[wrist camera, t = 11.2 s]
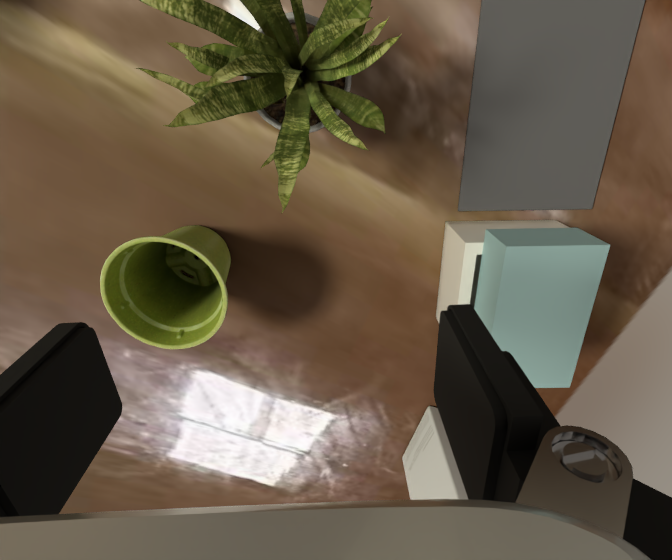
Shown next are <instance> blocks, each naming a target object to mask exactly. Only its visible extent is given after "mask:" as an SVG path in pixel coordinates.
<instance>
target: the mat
mask: <svg viewBox="0 0 672 560" xmlns="http://www.w3.org/2000/svg"><path fill="white" fill-rule="evenodd" d="M644 3H645V0H482V2H481V11H480V19H479V28H478V37H477V46H476V55H475V63H474V72H473V81H472V90H471V99H470V107H469V116H468V125H467V134H466V143H465V151H464V160H463V169H462V178H461V187H460V195H459V204H458V211H497V210H560V209H592V206H593V203H594V199H595V195H596V191H597V187H598V183H599V179H600V175H601V171H602V167H603V163H604V159H605V155H606V152H607V148H608V144H609V140H610V136H611V132H612V128H613V124H614V120H615V116H616V112H617V108H618V104H619V101H620V97H621V93H622V89H623V85H624V81H625V77H626V73H627V69H628V65H629V61H630V57H631V53H632V50H633V46H634V42H635V38H636V34H637V30H638V26H639V22H640V18H641V14H642V10H643V6H644Z"/></svg>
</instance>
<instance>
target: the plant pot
mask: <svg viewBox="0 0 672 560" xmlns="http://www.w3.org/2000/svg"><path fill="white" fill-rule="evenodd" d="M172 245H176V246H175V247H174V249H173V247H172ZM195 255H197V256H198V257H199V258H200V259H199V260H196V259H195V257H194V256H195ZM230 264H231V257H230V253H229V250H228V247H227V244H226V243H225V241H224V240H223V239H222V238H221V236H219V235H218V234H217V233H216V232H214V231H213V230H211V229H209V228H206V227H203V226H198V225H194V226H185V227H181V228H179V229H177V230H174V231H172V232H170V233H168V234H166V235H163V236H148V237H141V238H137V239H133V240H131V241H128V242H126V243H124V244H123V245H121V246H120V247H118V248H117V249H116V250H114V251H113V252H112V254H111V255H110V256H109V257H108V259H107V260H106V262H105V264H104V266H103V269H102V272H101V277H100V288H101V295H102V299H103V302H104V304H105V307H106V309H107V311H108V312H109V314H110V315H111V317H112V318H113V319H114V320H115V321H116V323H117V324H118V325H119V326H120V327H121V328H122V329H123V330H124V331H126V332H127V333H128V334H130V335H131V336H133V337H134V338H136V339H138V340H140V341H142V342H144V343H146V344H149V345H153V346H156V347H160V348H165V349H184V348H189V347H193V346H196V345H199V344H201V343H203V342H205V341H207V340H208V339H210V338H211V337H212V336H213V335H214V334H215V333H216V332H217V331H218V329H219V328H220V327H221V325H222V323H223V321H224V318H225V316H226V312H227V307H228V294H227V288H226V285H225V284H226V280H227V276H228V273H229V268H230ZM181 270H183V271H185V272H186V273H188V274H189V275H191V276H193V277H194V278H193V279H191V278H189V277H187V276H185V275H183V274H182V273H181Z"/></svg>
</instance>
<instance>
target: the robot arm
mask: <svg viewBox="0 0 672 560" xmlns="http://www.w3.org/2000/svg"><path fill="white" fill-rule="evenodd" d="M434 397H435V402H436V405H437V408H438V411H439V414H440V417H441V420H442V423H443V426H444V429H445V432H446V435H447V437H448V440H449V443H450V446H451V449H452V452H453V455H454V458H455V461H456V464H457V467H458V470H459V473H460V476H461V479H462V482H463V485H464V488H465V491H466V494H467V497H468V499H420V500H375V501H347V502H322V503H296V504H271V505H246V506H223V507H201V508H178V509H157V510H135V511H113V512H93V513H74V514H59V513H60V511H61V509H62V508H63V506H64V505H65V503H66V501H67V500H68V498H69V497H70V495H71V494H72V492H73V490H74V489H75V487H76V486H77V484H78V482H79V481H80V479H81V478H82V476H83V474H84V473H85V471H86V470H87V468H88V467H89V465H90V463H91V462H92V460H93V459H94V457H95V455H96V454H97V452H98V451H99V449H100V448H101V446H102V444H103V443H104V441H105V440H106V438H107V436H108V435H109V433H110V432H111V430H112V428H113V427H114V425H115V424H116V422H117V421H118V419H119V417H120V415H121V412H122V402H121V400H120V397H119V394H118V392H117V389H116V386H115V383H114V381H113V378H112V375H111V373H110V370H109V367H108V365H107V362H106V359H105V357H104V354H103V351H102V349H101V346H100V343H99V341H98V338H97V335H96V333H95V331H94V329H93V328H90V327H89V326H88V325H87V324H86V323H83V322H79V323H61V324H58V325H57V326H55V327H54V328H53V329H52V330H51V331H50V332H48V333H47V334H46V335H45V336H44V337H43V338H42V339H40V340H39V341H38V342H37V343H36V344H35V345H34V346H33V347H31V348H30V349H29V350H28V351H27V352H26V353H25V354H23V355H22V356H21V357H20V358H19V359H18V360H17V361H16V362H14V363H13V364H12V365H11V366H10V367H9V368H8V369H6V370H5V371H4V372H3V373H2V374H1V375H0V560H672V498H671V497H669V496H667V495H665V494H663V493H661V492H659V491H657V490H655V489H653V488H651V487H649V486H647V485H645V484H643V483H641V482H639V481H637V480H635V479H633V471H632V465H631V463H630V462H629V460H628V458H627V456H626V455H625V454H624V453H623V452H622V450H621V449H620V448H619V447H618V446H617V445H615V444H614V443H613V442H611V441H610V440H609V439H607V438H606V437H604V436H602V435H600V434H598V433H596V432H594V431H591V430H588V429H585V428H582V427H576V426H560V425H559V423H558V422H557V420H556V419H555V417H554V416H553V414H552V413H551V411H550V410H549V408H548V407H547V405H546V404H545V403H544V401H543V400H542V398H541V397H540V395H539V394H538V392H537V391H536V389H535V388H534V386H533V385H532V383H531V382H530V381H529V379H528V378H527V376H526V375H525V373H524V372H523V370H522V369H521V367H520V366H519V364H518V363H517V361H516V360H515V359H514V357H513V356H512V355H511V354H510V352H507V351H501V349H500V348H499V346H498V345H497V343H496V342H495V340H494V339H493V337H492V335H491V334H490V332H489V331H488V329H487V328H486V326H485V325H484V323H483V322H482V320H481V319H480V317H479V316H478V314H477V312H476V311H475V309H474V308H473V306H472V305H471V304H460V305H449V306H448V307H447V310H446V311H441V313H440V321H439V333H438V345H437V357H436V369H435V381H434Z"/></svg>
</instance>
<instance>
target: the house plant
mask: <svg viewBox="0 0 672 560" xmlns="http://www.w3.org/2000/svg"><path fill="white" fill-rule="evenodd" d="M140 1H141V2H143V3H145V4H147V5H149V6H151V7H154V8H156V9H158V10H161V11H163V12H165V13H167V14H169V15H171V16H174V17H176V18H179V19H181V20H184V21H186V22H189V23H191V24H194V25H196V26H199V27H201V28H203V29H206V30H208V31H211V32H213V33H214V34H216V35H218V36H220V37H222V38H223V39H225V40H227V41H229V42H230V43H232V44H234V45H236V46H238V47H235V46H231V45H226V44H218V43H212V44H209V45H205V46H203V47H201V48H198V47H190V46H188V45H185V44H181V43H168V42H167V43H168V44H169V45H171V46H172V47H174V48H176V49H177V50H179V51H180V52H182V53H184V54H185V55H187V56H186V57H185V58H187V59H188V60H189V61H190V62H191V63H192V64H193V66H194V67H195V68H196V69H197V70H198V71H199V72H201V73H204V74H206V75H210V76H212V77H211V79H210V80H209V82H199V83H197V84H195V85H194V86H193V85H191V84H188V83H186V82H184V81H181V80H179V79H176V78H174V77H171V76H169V75H166V74H162V73H159V72H155V71H151V70H147V69H142V68H136V69H140V70H142V71H144V72H146V73H147V74H149V75H151V76H152V77H154V78H156V79H158V80H161V81H163V82H165V83H167V84H169V85H171V86H173V87H175V88H177V89H179V90H180V91H182V92H183V93H185V94H186V95H188V96H189V97H190V98H191V99H192V100H193V101H194V102H195V103H196V104H195V105H193V106H191V107H189V108H187V109H185V110H183V111H181V112H180V113H179V114H178V115H177V116H176V118H175V119H174V120H173V121H172V122H171V123H170V124H169V125H163V126H169V127H179V126H186V125H196V124H202V123H205V122H209V121H215V120H220V119H223V118H226V117H229V116H233V115H237V114H240V113H247V112H252V111H257V112H258V113H259V114H260V115H261V116H262V118H263V119H264V120H265V121H267V122H268V123H269V124H271V125H272V126H274V127H275V128H277V129H280V132H279V135H278V139H277V143H276V147H275V152H274V153H273V154H271V155H270V157H269V158H268V159H267V160H266V161H265V163H264V164H263V165H262V167H263V166H265V165H267V164H269V163H270V162H271V161H272V160H273V159H274V161H275V165H276V168H277V172H278V175H279V182H278V195H279V198H280V201H281V204H282V208H283V210H282V212H283V211H284V209H285V208H286V206H287V204H288V201H289V198H290V195H291V193H292V190H293V188H294V185H295V181H296V177H297V174H298V172H299V171H300V170H302V169H303V168H304V167H305V166H306V164H307V161H308V159H309V154H310V142H309V135H308V134H309V133H310V132H314V131H317V130H319V129H321V128H323V127H326V128H327V129H328V130H329V131H330V132H331V133H332V134H333V135H335V136H336V137H338V138H340V139H341V140H343V141H345V142H347V143H349V144H351V145H353V146H356V147H359V148H362V149H365V150H368V149H366V147H365V146H364V144H363V142H362V141H361V140H360V139H358V138H357V137H356V136H354V135H353V132H352V130H351V128H350V127H349V125H348V124H346V123H345V122H344V121H343V120H342V119H341V118H339V116H338V115H339V113H340V112H342V113H344V114H345V115H346V116H348V117H349V118H350V119H352V120H353V121H355V122H356V123H358V124H359V125H362V126H365V127H368V128H373V129H377V130H380V131H383V132H384V133H385V127H384V115H383V114H382V112H381V110H380V109H379V108H378V107H377V106H376V105H375V104H374V103H373V102H371V101H370V100H368V99H366V98H364V97H361V96H358V95H356V94H353V93H350V88H351V75H354V74H356V73H358V72H361V71H363V70H364V69H366V68H367V67H369V66H370V65H371V64H373V63H374V62H375V61H376V60H378V59H379V58H380V57H381V56H382V55H383V54H385V53H386V52H387V51H388V49H389V48H390V47H391V46H392V45H393V44H394V43H395V42H396V41H397V40H398V38H399V37H400V36H401V35H400V36H398V37H394V38H390V39H387V40H386V41H384V42H383V43H381V44H379V45H373V46H369V45H370V44H371V43H372V42H373V41H374V40H375V39H376V37H377V36H378V35H379V33H380V31H381V30H382V28H383V27H384V25H385V24H386V22H387V20H388V19H387V20H386V21H384V22H382V23H380V24H378V25H377V26H376V27H375V28H374V29H373V30H372V31H371V32H370V33H367V34H364V35H362V34H363V31H364V28H365V25H366V22H367V21H368V20H370V19H371V18H370V17H368V16H369V13H370V11H371V9H372V7H370V5H371V0H327V3H326V5H325V7H324V10H323V12H322V14H321V16H320V18H317V17H315V16H312V15H309V14H307V13H304V9H303V5H302V0H291V4H292V9H293V12H290V13H286V14H285V13H284V11H283V8H282V5H281V2H280V0H240V1H241V2H242V3H243V4H244V6H245V7H246V8H247V9H248V10H249V12H250V13H251V14H252V15H253V17H254V18H255V20H256V21H257V23H258V24H259V26H260V29H259V30H258V31H257V30H256V29H254V28H253V27H251V26H250V25H248V24H247V23H245V22H244V21H242V20H240V19H239V18H237V17H235V16H234V15H232V14H230V13H228V12H226V11H225V10H223V9H221V8H219V7H217V6H214V5H212V4H210V3H208V2H205V1H203V0H140ZM368 46H369V47H368ZM236 76H244V80H241V81H236V82H232V83H222V82H225V81H228V80H230V79H232V78H234V77H236ZM385 134H386V133H385ZM262 167H261V168H262Z"/></svg>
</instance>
